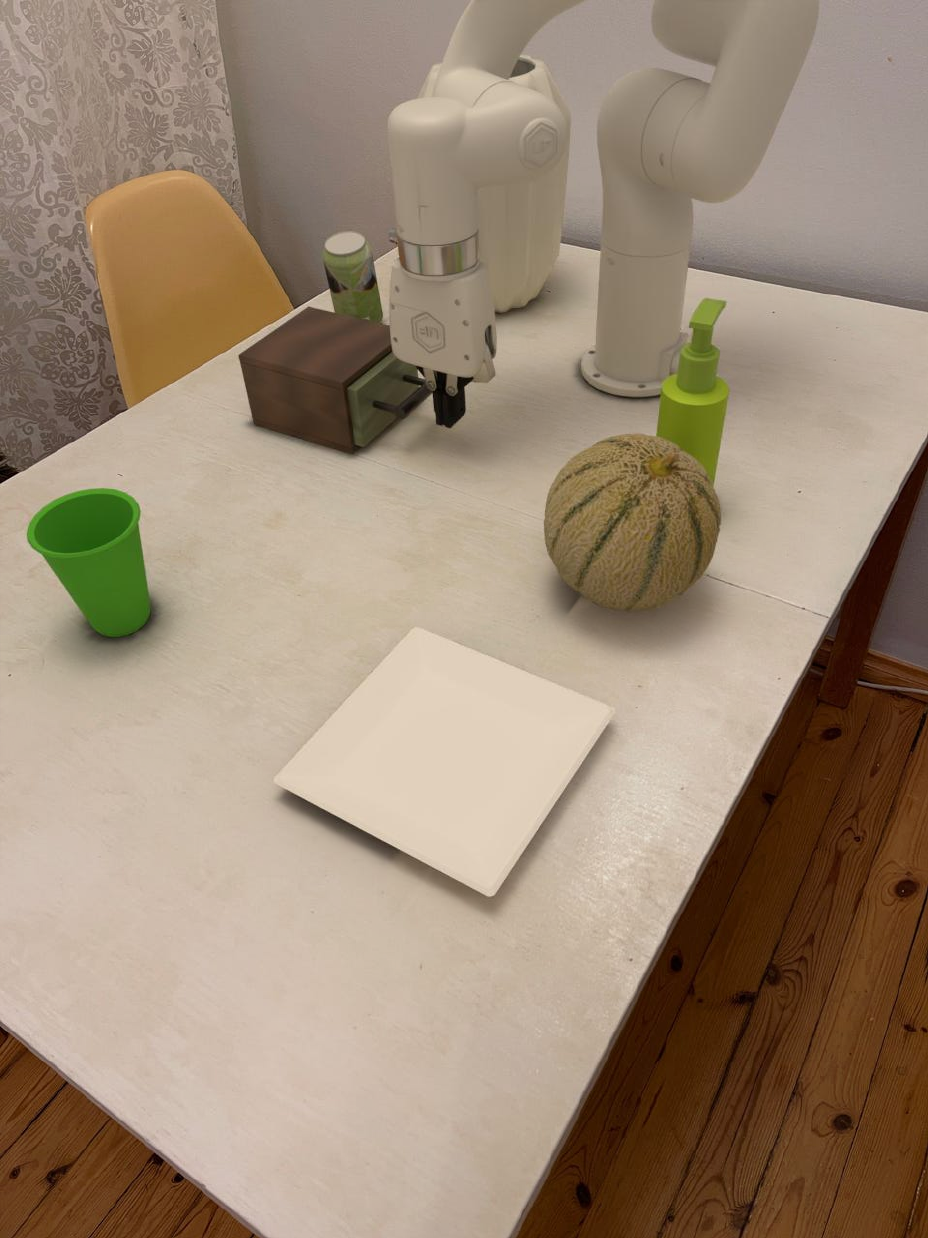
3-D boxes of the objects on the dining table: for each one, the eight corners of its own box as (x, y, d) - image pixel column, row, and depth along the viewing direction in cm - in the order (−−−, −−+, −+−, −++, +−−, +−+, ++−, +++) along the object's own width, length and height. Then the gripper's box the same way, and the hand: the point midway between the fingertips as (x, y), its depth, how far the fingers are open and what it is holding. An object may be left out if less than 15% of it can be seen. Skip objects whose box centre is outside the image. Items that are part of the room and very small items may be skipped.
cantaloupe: (554, 529, 93) (557, 390, 82) (710, 543, 90) (734, 402, 80) (530, 635, 82) (530, 492, 72) (706, 655, 80) (732, 509, 69)
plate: (492, 913, 64) (491, 896, 62) (275, 796, 71) (270, 779, 70) (616, 724, 75) (617, 706, 73) (416, 640, 82) (414, 623, 81)
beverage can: (387, 315, 127) (377, 223, 119) (378, 342, 122) (367, 248, 113) (340, 315, 128) (327, 223, 119) (329, 342, 122) (315, 248, 114)
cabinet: (414, 399, 111) (408, 329, 105) (352, 454, 104) (342, 382, 98) (319, 373, 117) (308, 306, 111) (253, 424, 109) (237, 354, 103)
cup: (192, 594, 88) (160, 496, 80) (137, 663, 82) (97, 564, 74) (108, 576, 90) (70, 480, 83) (49, 642, 84) (1, 544, 77)
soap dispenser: (719, 490, 96) (751, 298, 82) (700, 530, 92) (731, 334, 78) (661, 478, 98) (683, 288, 84) (641, 516, 94) (661, 323, 80)
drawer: (451, 405, 108) (448, 349, 104) (397, 457, 101) (390, 400, 97) (330, 373, 115) (322, 319, 110) (271, 419, 108) (260, 364, 103)
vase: (518, 340, 120) (517, 99, 102) (392, 307, 129) (369, 78, 110) (591, 280, 132) (602, 54, 113) (471, 253, 140) (463, 38, 121)
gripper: (350, 250, 90) (372, 420, 103) (488, 280, 84) (494, 456, 97) (394, 221, 95) (410, 387, 107) (529, 247, 89) (529, 420, 101)
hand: (450, 420), depth 102 cm, fingers closed
